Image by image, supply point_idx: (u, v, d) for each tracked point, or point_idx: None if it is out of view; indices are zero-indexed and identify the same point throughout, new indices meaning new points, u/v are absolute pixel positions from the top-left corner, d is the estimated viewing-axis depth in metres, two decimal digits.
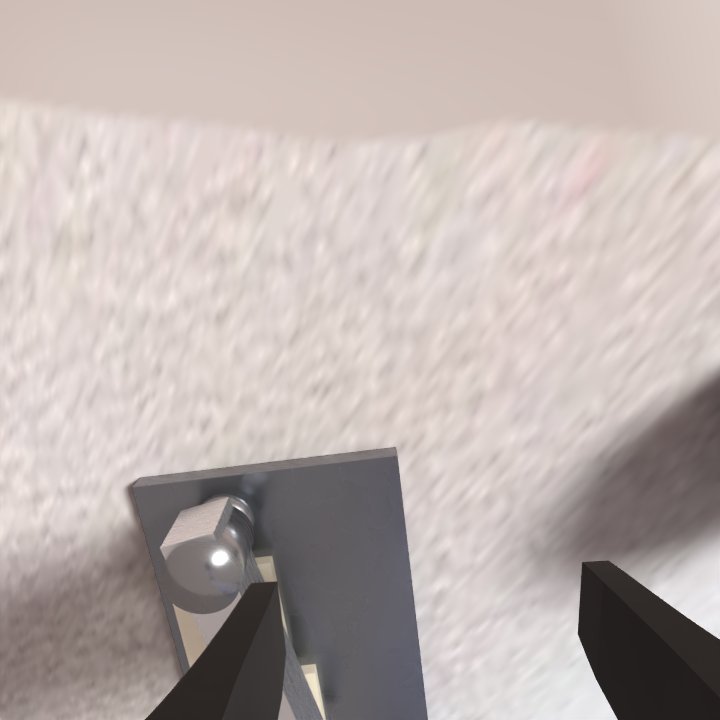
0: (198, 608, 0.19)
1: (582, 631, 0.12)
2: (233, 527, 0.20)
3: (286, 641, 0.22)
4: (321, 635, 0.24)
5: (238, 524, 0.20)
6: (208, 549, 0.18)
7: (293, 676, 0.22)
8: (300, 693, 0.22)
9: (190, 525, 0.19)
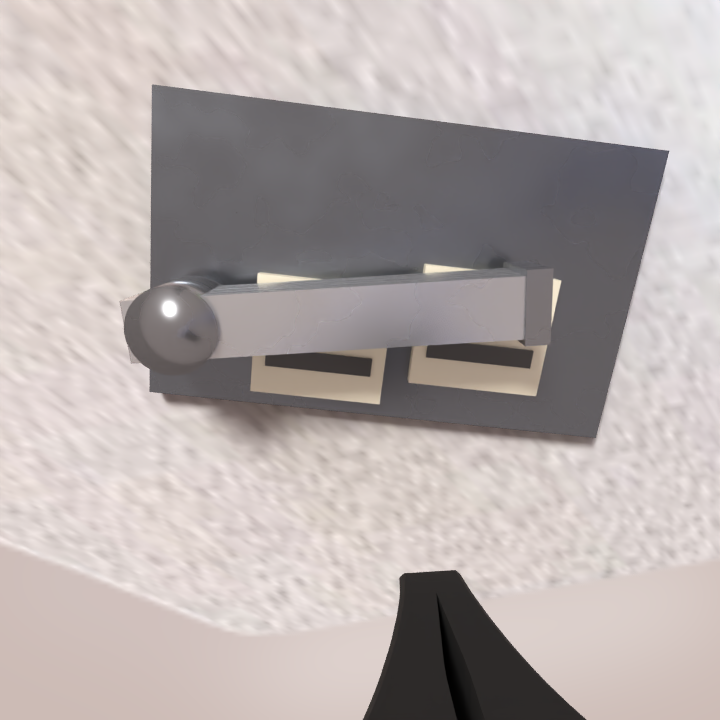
0: (206, 345, 0.16)
1: None
2: None
3: (346, 279, 0.18)
4: (384, 244, 0.19)
5: None
6: (130, 310, 0.16)
7: (379, 279, 0.17)
8: (407, 278, 0.17)
9: None
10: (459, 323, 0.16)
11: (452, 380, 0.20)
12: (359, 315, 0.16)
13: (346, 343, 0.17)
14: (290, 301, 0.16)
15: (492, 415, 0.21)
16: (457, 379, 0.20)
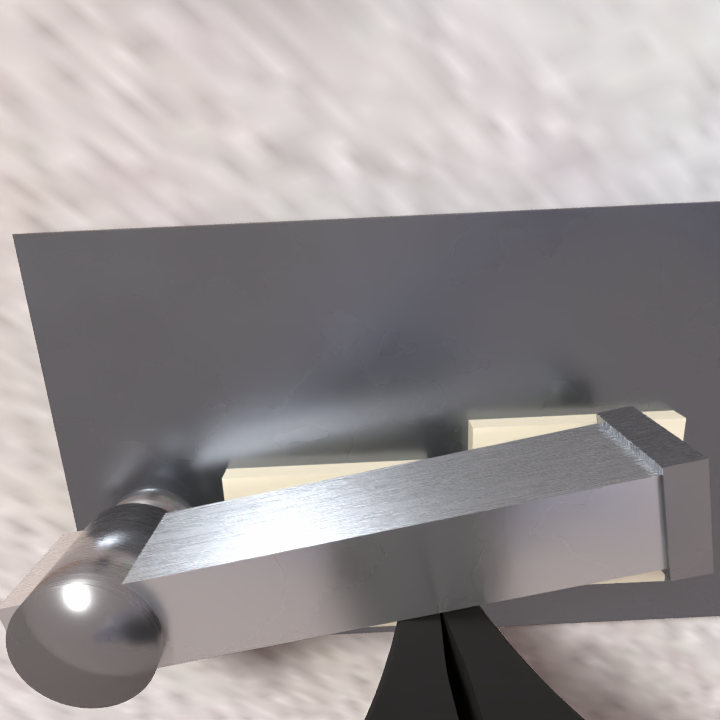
0: (145, 659, 0.10)
1: None
2: (66, 551, 0.11)
3: (354, 481, 0.12)
4: (404, 403, 0.13)
5: (80, 537, 0.11)
6: (11, 629, 0.10)
7: (408, 487, 0.11)
8: (451, 479, 0.11)
9: None
10: (555, 562, 0.10)
11: None
12: (385, 573, 0.10)
13: (371, 616, 0.10)
14: (269, 570, 0.10)
15: (598, 606, 0.14)
16: None
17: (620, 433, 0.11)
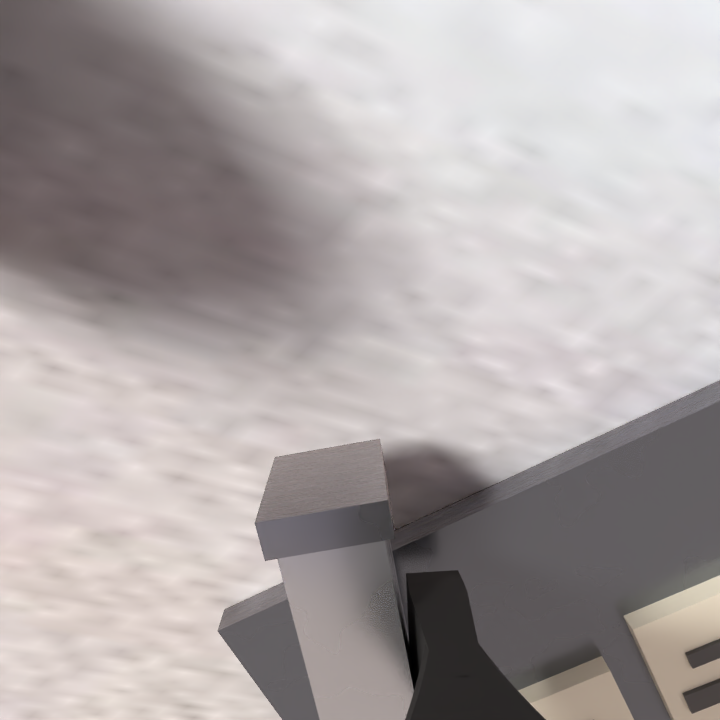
0: None
1: (409, 642, 0.12)
2: None
3: None
4: (564, 624, 0.14)
5: None
6: None
7: None
8: None
9: None
10: (369, 633, 0.10)
11: None
12: None
13: None
14: None
15: None
16: None
17: None
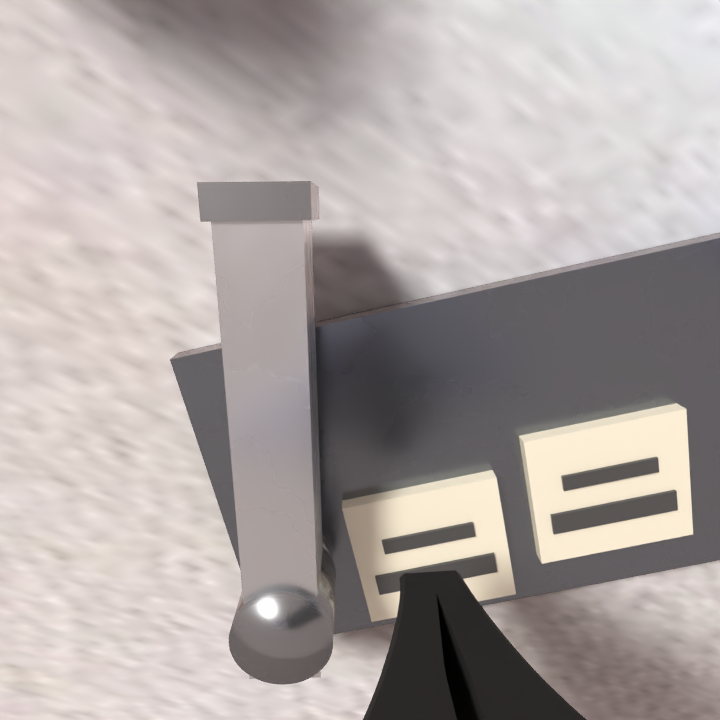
0: (297, 610, 0.14)
1: None
2: None
3: None
4: (468, 431, 0.17)
5: None
6: (256, 676, 0.14)
7: None
8: None
9: None
10: (279, 313, 0.12)
11: (590, 547, 0.17)
12: (266, 439, 0.13)
13: (302, 456, 0.13)
14: (249, 515, 0.13)
15: (645, 562, 0.18)
16: (596, 544, 0.17)
17: None
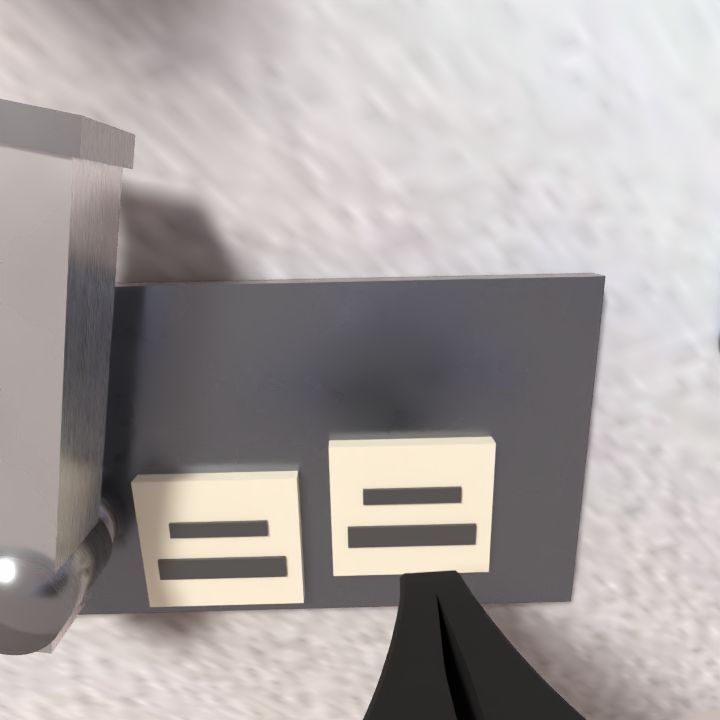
0: (26, 577, 0.13)
1: None
2: None
3: None
4: (277, 426, 0.16)
5: None
6: None
7: None
8: None
9: None
10: (38, 252, 0.11)
11: (384, 567, 0.17)
12: (12, 387, 0.12)
13: (51, 412, 0.12)
14: None
15: None
16: (390, 565, 0.17)
17: None
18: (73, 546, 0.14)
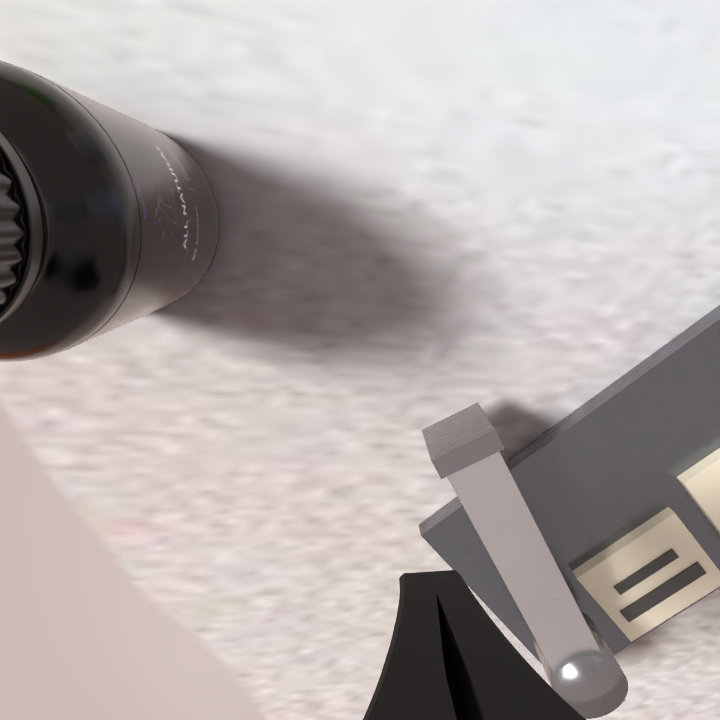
0: (593, 667, 0.20)
1: None
2: None
3: None
4: (638, 490, 0.22)
5: None
6: (585, 717, 0.21)
7: None
8: None
9: None
10: (506, 504, 0.19)
11: None
12: (528, 575, 0.19)
13: (555, 575, 0.19)
14: (536, 622, 0.20)
15: None
16: None
17: None
18: (592, 635, 0.21)
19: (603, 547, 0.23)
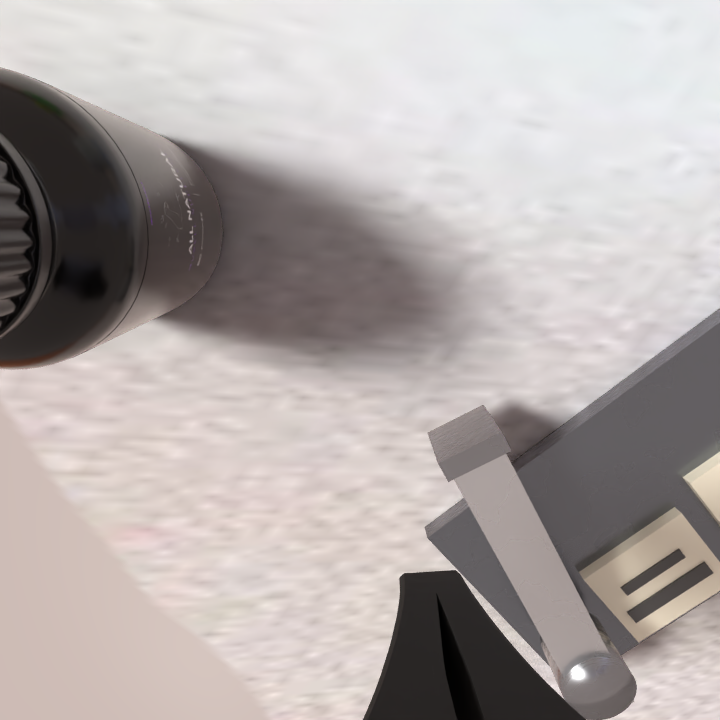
0: (602, 668, 0.20)
1: None
2: None
3: None
4: (645, 490, 0.22)
5: None
6: (593, 718, 0.21)
7: None
8: None
9: None
10: (513, 506, 0.19)
11: None
12: (536, 577, 0.19)
13: (562, 577, 0.19)
14: (544, 624, 0.20)
15: None
16: None
17: None
18: None
19: (610, 548, 0.23)
